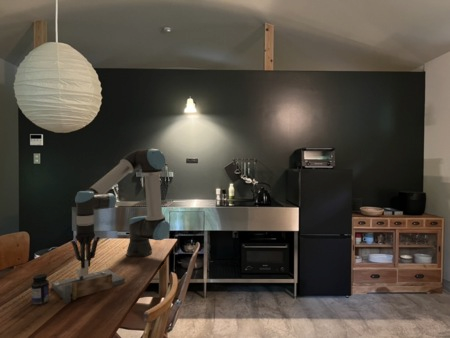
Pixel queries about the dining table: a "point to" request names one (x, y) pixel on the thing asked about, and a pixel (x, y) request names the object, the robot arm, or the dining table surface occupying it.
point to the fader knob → (81, 272)
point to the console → (59, 285)
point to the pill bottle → (40, 290)
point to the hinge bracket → (66, 293)
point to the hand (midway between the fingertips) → (85, 274)
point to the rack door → (91, 286)
